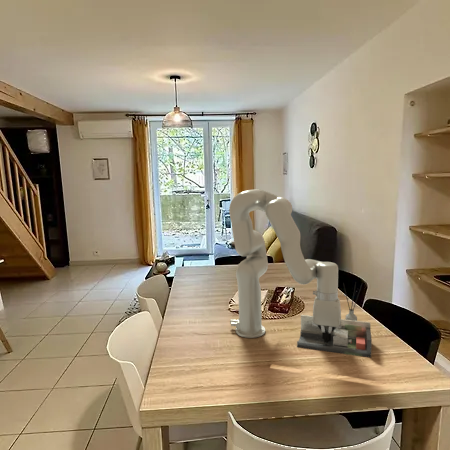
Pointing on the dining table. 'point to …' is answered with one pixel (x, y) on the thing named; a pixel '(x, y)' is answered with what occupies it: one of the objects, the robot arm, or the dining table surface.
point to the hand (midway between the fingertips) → (326, 340)
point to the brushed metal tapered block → (341, 338)
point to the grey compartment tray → (313, 337)
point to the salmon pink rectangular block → (360, 343)
